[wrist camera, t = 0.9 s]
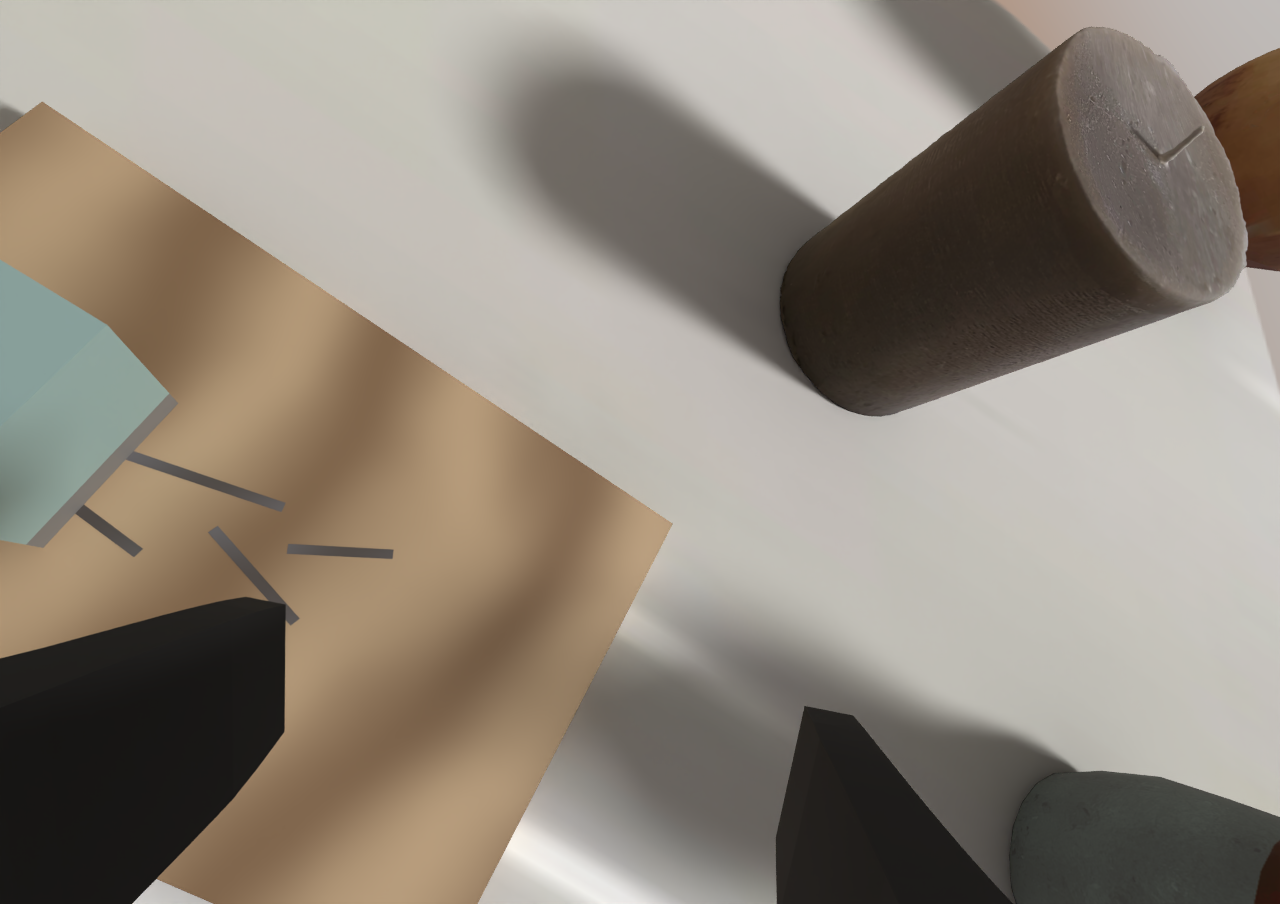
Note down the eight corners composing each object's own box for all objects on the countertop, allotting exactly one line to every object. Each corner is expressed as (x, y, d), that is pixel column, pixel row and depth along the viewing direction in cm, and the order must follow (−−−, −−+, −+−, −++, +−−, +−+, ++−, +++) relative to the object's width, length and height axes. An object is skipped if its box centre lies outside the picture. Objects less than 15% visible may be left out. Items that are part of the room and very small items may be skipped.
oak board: (-491, 564, 15) (-576, 561, 14) (62, 134, 21) (42, 101, 20) (424, 970, 20) (429, 997, 19) (656, 528, 26) (672, 523, 25)
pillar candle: (759, 368, 30) (1091, 178, 16) (800, 201, 33) (1107, -73, 20) (919, 448, 33) (1312, 342, 19) (943, 287, 36) (1295, 100, 22)
